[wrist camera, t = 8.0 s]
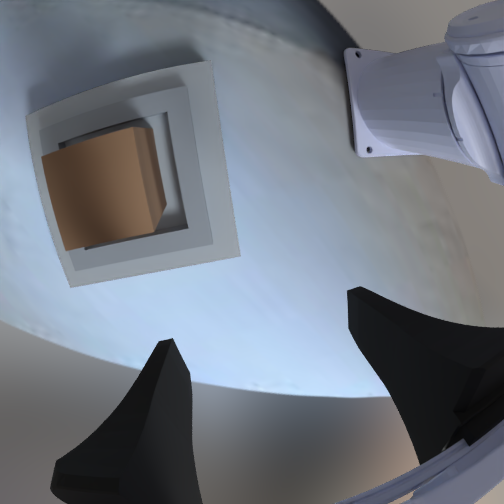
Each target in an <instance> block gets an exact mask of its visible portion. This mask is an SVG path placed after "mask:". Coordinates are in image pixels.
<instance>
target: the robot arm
mask: <svg viewBox="0 0 504 504" xmlns="http://www.w3.org/2000/svg"><path fill="white" fill-rule="evenodd" d="M445 41H446V42H442V43H437V44H433V45H428V46H424V47H420V48H415V49H411V50H408V51H404V52H400V53H389V52H383V51H376V50H368V49H359V48H348V49H346V50H345V51H344V59H345V65H346V72H347V79H348V86H349V94H350V102H351V111H352V121H353V131H354V143H355V152H356V154H357V155H358V156H359V157H376V156H394V155H421V154H423V155H428V156H432V157H437V158H441V159H445V160H450V161H454V162H458V163H462V164H466V165H470V166H474V167H477V168H481V169H483V170H484V171H485V172H486V173H487V174H488V176H489V178H490V181H491V182H494V183H497V184H500V185H503V186H504V0H496V1H492V2H488V3H485V4H482V5H479V6H477V7H474V8H471V9H469V10H467V11H465V12H463V13H461V14H459V15H458V16H456V17H454V18H453V19H452V20H451V21H450V22H449V24H448V29H447V32H446V34H445ZM355 52H356V53H358V54H359V58H358V57H357V56H356V55H355ZM367 147H369V148H370V151H369V153H367V151H366V149H367ZM347 299H348V329H349V331H350V333H351V335H352V337H353V339H354V340H355V342H356V344H357V346H358V348H359V349H360V351H361V352H362V354H363V355H364V356H365V358H366V359H367V361H368V362H369V364H370V365H371V366H372V368H373V369H374V371H375V372H376V373H377V375H378V376H379V378H380V379H381V381H382V382H383V383H384V385H385V387H386V388H387V390H388V392H389V393H390V395H391V397H392V399H393V401H394V403H395V405H396V407H397V409H398V411H399V413H400V415H401V418H402V420H403V422H404V424H405V426H406V429H407V431H408V433H409V436H410V438H411V441H412V443H413V446H414V449H415V451H416V454H417V457H418V460H419V463H420V466H418V467H416V468H414V469H413V470H411V471H409V472H407V473H405V474H403V475H401V476H399V477H397V478H395V479H393V480H391V481H389V482H386V483H384V484H382V485H380V486H378V487H375V488H373V489H371V490H368V491H366V492H364V493H361V494H359V495H356V496H353V497H351V498H348V499H345V500H343V501H340V502H337V503H334V504H388V503H390V502H392V501H394V500H396V499H398V498H400V497H402V496H404V495H406V494H408V493H410V492H412V491H414V490H415V491H414V493H413V496H412V497H411V498H410V499H409V500H407V501H405V502H403V503H401V504H474V503H475V502H477V501H478V500H479V499H480V498H482V497H483V496H484V495H485V494H487V493H488V492H489V491H490V490H492V489H493V488H494V487H495V486H496V485H497V484H499V483H500V482H501V481H502V480H503V479H504V328H490V327H478V326H470V325H463V324H458V323H453V322H449V321H444V320H441V319H437V318H434V317H431V316H428V315H425V314H422V313H419V312H417V311H414V310H411V309H409V308H406V307H404V306H402V305H400V304H397V303H395V302H393V301H391V300H389V299H387V298H384V297H382V296H380V295H378V294H376V293H374V292H372V291H370V290H368V289H366V288H363V287H361V286H359V287H356V288H353V289H350V290H347ZM419 487H420V488H419ZM50 489H51V491H52V493H53V494H54V495H55V496H56V497H57V498H59V499H60V500H62V501H63V502H65V503H67V504H203V503H202V499H201V494H200V490H199V485H198V480H197V475H196V468H195V462H194V455H193V446H192V386H191V378H190V372H189V370H188V368H187V366H186V364H185V362H184V360H183V358H182V356H181V354H180V352H179V350H178V348H177V346H176V344H175V342H174V340H173V338H172V339H167V340H163V341H159V342H158V344H157V345H156V347H155V349H154V350H153V352H152V354H151V355H150V357H149V359H148V361H147V362H146V364H145V366H144V368H143V369H142V371H141V373H140V374H139V376H138V378H137V380H136V381H135V382H134V384H133V386H132V387H131V388H130V390H129V392H128V393H127V394H126V396H125V397H124V399H123V400H122V401H121V403H120V404H119V405H118V406H117V408H116V409H115V410H114V411H113V412H112V414H111V415H110V416H109V417H108V418H107V419H106V420H105V421H104V422H103V423H102V424H101V425H100V426H99V428H98V429H97V430H96V431H94V432H93V433H92V434H91V435H90V436H89V437H88V438H87V439H86V440H84V441H83V442H82V443H81V444H80V445H78V446H77V447H76V448H74V449H73V450H71V451H70V452H69V453H67V454H66V455H64V456H63V457H61V458H60V459H58V460H57V461H56V463H55V468H54V473H53V477H52V481H51V487H50ZM416 489H417V490H416Z"/></svg>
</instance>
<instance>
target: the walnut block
mask: <svg viewBox="0 0 504 504" xmlns="http://www.w3.org/2000/svg"><path fill="white" fill-rule="evenodd" d="M41 159H42V164H43V169H44V174H45V179H46V183H47V188H48V192H49V196H50V200H51V204H52V208H53V211H54V215H55V218H56V222H57V225H58V229H59V232H60V235H61V238H62V242H63V245H64V248H65V251H70V250H74V249H78V248H83V247H87V246H91V245H96V244H100V243H105V242H109V241H114V240H119V239H123V238H128V237H133V236H138V235H142V234H147V233H152V232H154V231H155V229H156V227H157V225H158V223H159V220H160V218H161V216H162V214H163V212H164V210H165V208H166V205H167V202H166V197H165V192H164V187H163V182H162V177H161V172H160V166H159V161H158V155H157V150H156V144H155V138H154V132H153V129H152V128H140V127H131V128H127V129H123V130H119V131H116V132H112V133H109V134H105V135H102V136H99V137H95V138H92V139H89V140H86V141H83V142H80V143H77V144H74V145H71V146H68V147H65V148H63V149H60V150H57V151H54V152H52V153H49V154H47V155H44V156H42V157H41Z"/></svg>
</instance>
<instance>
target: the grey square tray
mask: <svg viewBox="0 0 504 504" xmlns="http://www.w3.org/2000/svg"><path fill="white" fill-rule="evenodd" d="M26 123H27V130H28V137H29V144H30V150H31V155H32V161H33V166H34V171H35V176H36V180H37V184H38V189H39V193H40V197H41V201H42V205H43V208H44V212H45V216H46V219H47V222H48V226H49V229H50V232H51V236H52V239H53V242H54V245H55V248H56V251H57V254H58V256H59V259H60V262H61V265H62V267H63V270H64V273H65V275H66V278H67V280H68V283H69V285H70V288H72V287H78V286H83V285H89V284H94V283H100V282H105V281H111V280H116V279H121V278H127V277H132V276H138V275H143V274H148V273H154V272H159V271H165V270H170V269H175V268H181V267H186V266H192V265H197V264H202V263H208V262H213V261H218V260H224V259H229V258H234V257H240V256H241V255H240V248H239V242H238V236H237V230H236V223H235V217H234V211H233V204H232V198H231V191H230V185H229V178H228V172H227V165H226V159H225V152H224V145H223V139H222V132H221V125H220V118H219V111H218V105H217V98H216V91H215V84H214V77H213V70H212V62H211V60H209V61H203V62H196V63H190V64H185V65H179V66H174V67H169V68H165V69H160V70H156V71H151V72H147V73H143V74H139V75H135V76H132V77H128V78H124V79H121V80H118V81H114V82H111V83H108V84H105V85H101V86H98V87H95V88H92V89H90V90H87V91H84V92H81V93H78V94H76V95H73V96H71V97H68V98H65V99H63V100H60V101H58V102H56V103H53V104H51V105H49V106H46V107H44V108H42V109H40V110H37V111H35V112H33V113H31V114H29V115H27V116H26ZM131 127H140V128H152V129H153V132H154V138H155V144H156V150H157V155H158V161H159V166H160V172H161V177H162V182H163V187H164V192H165V197H166V202H167V205H166V208H165V210H164V212H163V214H162V216H161V218H160V220H159V223H158V225H157V227H156V229H155V231H154V232H152V233H147V234H142V235H138V236H133V237H128V238H123V239H119V240H114V241H109V242H105V243H100V244H96V245H91V246H87V247H83V248H78V249H74V250H70V251H65V248H64V245H63V242H62V238H61V235H60V232H59V229H58V225H57V222H56V218H55V215H54V211H53V208H52V204H51V200H50V196H49V192H48V188H47V183H46V179H45V174H44V169H43V164H42V159H41V157H42V156H44V155H47V154H49V153H52V152H54V151H57V150H60V149H63V148H65V147H68V146H71V145H74V144H77V143H80V142H83V141H86V140H89V139H92V138H95V137H99V136H102V135H105V134H109V133H112V132H116V131H119V130H123V129H127V128H131Z"/></svg>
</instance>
